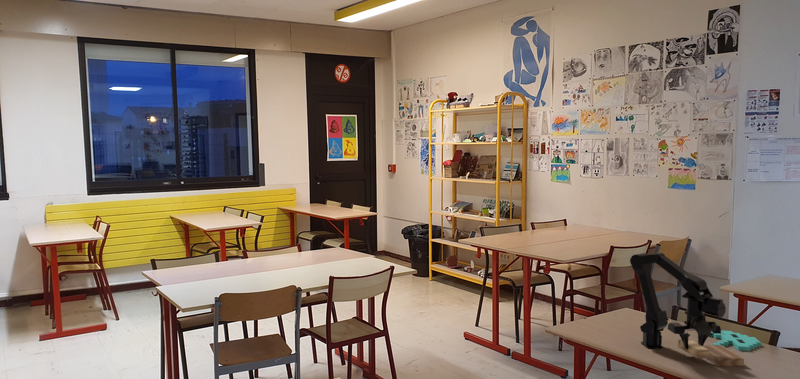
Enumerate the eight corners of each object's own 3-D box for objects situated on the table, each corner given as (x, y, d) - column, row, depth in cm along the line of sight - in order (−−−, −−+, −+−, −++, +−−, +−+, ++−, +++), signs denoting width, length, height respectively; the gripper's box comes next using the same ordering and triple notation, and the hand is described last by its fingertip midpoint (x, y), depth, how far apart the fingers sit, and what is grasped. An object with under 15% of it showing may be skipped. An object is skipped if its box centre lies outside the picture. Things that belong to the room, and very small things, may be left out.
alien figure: (714, 349, 230) (767, 353, 226) (715, 344, 230) (768, 348, 226) (699, 333, 250) (747, 336, 246) (699, 328, 250) (747, 332, 246)
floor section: (718, 366, 212) (719, 358, 211) (697, 352, 226) (698, 345, 225) (743, 366, 212) (744, 358, 212) (721, 352, 226) (721, 345, 226)
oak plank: (678, 346, 224) (678, 339, 224) (689, 346, 224) (689, 339, 224) (697, 358, 212) (697, 350, 212) (709, 357, 213) (709, 350, 212)
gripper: (683, 317, 209) (681, 357, 210) (731, 316, 209) (729, 356, 211) (667, 308, 220) (666, 346, 221) (713, 308, 220) (711, 346, 222)
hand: (693, 349), depth 218 cm, fingers closed on oak plank, 5 cm apart
